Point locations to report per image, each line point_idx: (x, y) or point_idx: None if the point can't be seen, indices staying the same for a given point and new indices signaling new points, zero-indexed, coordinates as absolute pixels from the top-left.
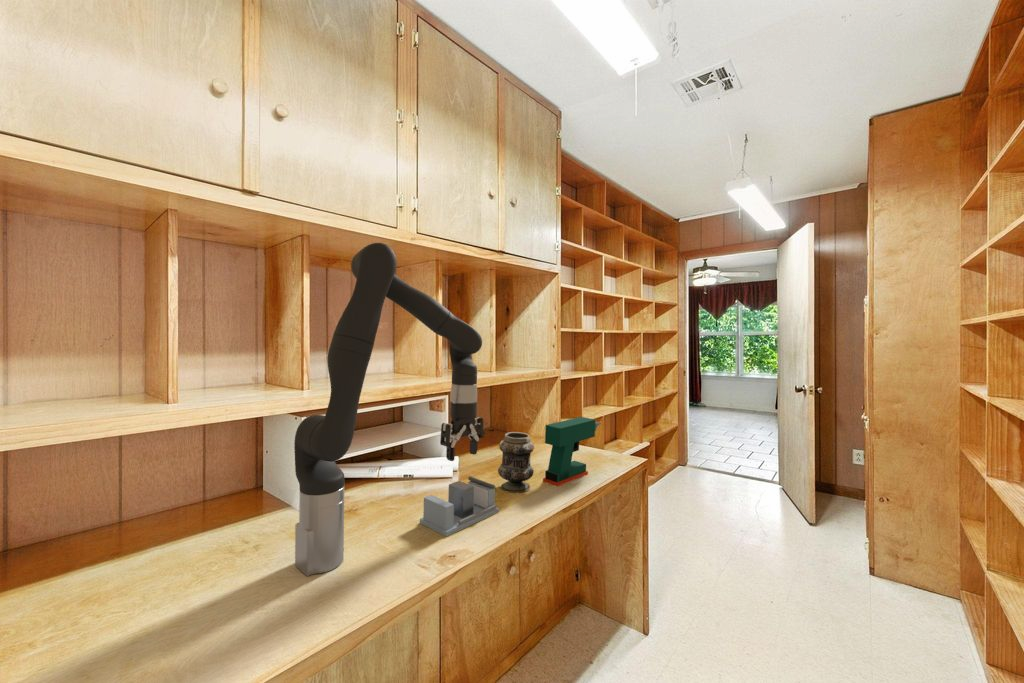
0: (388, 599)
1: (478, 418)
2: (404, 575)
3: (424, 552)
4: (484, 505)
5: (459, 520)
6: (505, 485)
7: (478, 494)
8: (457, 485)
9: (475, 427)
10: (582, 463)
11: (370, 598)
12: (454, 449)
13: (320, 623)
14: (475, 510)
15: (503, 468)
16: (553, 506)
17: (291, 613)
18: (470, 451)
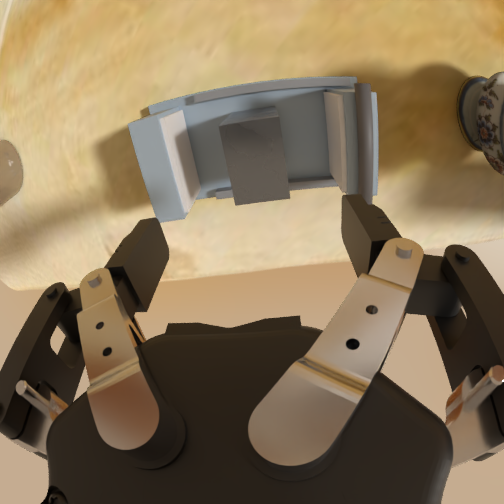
0: (70, 281)
1: (481, 455)
2: (86, 256)
3: (121, 223)
4: (330, 165)
5: (217, 192)
6: (472, 97)
7: (335, 146)
8: (242, 155)
9: (477, 328)
10: None
11: (54, 268)
12: (149, 302)
13: (24, 270)
14: (303, 151)
15: (497, 111)
16: (447, 239)
17: (3, 243)
18: (345, 205)
